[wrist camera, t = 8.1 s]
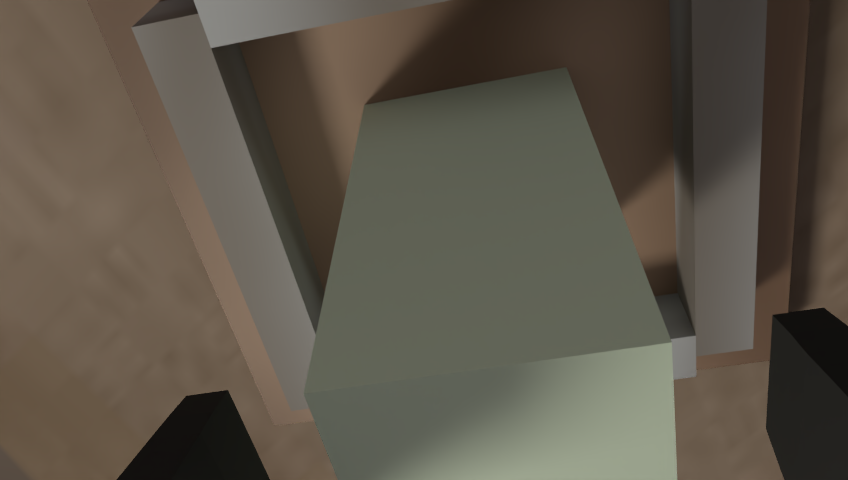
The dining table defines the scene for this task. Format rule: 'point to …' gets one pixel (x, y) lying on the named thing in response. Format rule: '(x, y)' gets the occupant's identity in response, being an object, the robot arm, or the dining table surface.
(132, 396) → the dining table surface
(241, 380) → the dining table surface
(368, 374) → the peg
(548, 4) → the socket plate
